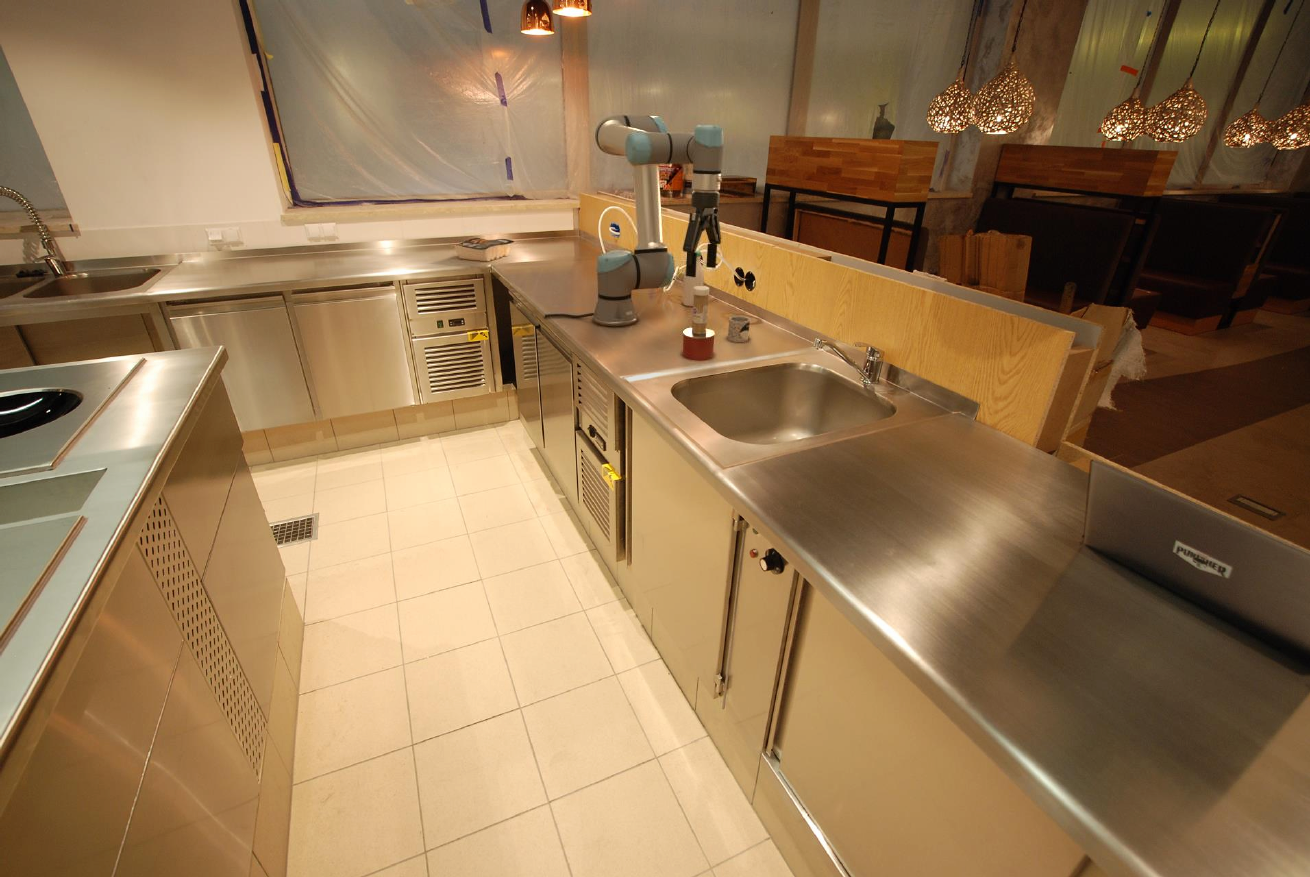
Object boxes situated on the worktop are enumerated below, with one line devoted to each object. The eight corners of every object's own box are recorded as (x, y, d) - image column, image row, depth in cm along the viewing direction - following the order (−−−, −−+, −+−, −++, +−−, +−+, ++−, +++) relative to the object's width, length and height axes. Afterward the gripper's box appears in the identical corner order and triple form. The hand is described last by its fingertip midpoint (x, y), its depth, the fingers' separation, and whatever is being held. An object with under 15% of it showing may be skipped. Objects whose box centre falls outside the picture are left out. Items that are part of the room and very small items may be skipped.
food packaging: (478, 236, 306) (514, 239, 299) (480, 251, 310) (516, 254, 303) (447, 244, 286) (486, 247, 279) (450, 259, 289) (487, 263, 282)
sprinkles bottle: (688, 332, 170) (690, 287, 164) (697, 329, 174) (699, 284, 167) (700, 335, 168) (703, 290, 161) (709, 332, 171) (712, 287, 164)
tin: (677, 356, 172) (677, 334, 169) (690, 347, 180) (691, 325, 176) (705, 362, 168) (706, 339, 165) (718, 352, 176) (719, 330, 172)
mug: (742, 343, 184) (744, 323, 180) (724, 339, 187) (725, 319, 183) (755, 335, 191) (757, 315, 188) (737, 331, 194) (738, 312, 191)
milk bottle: (700, 307, 220) (703, 253, 210) (681, 306, 221) (683, 252, 211) (703, 302, 226) (706, 250, 217) (684, 301, 227) (686, 249, 218)
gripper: (698, 196, 142) (694, 282, 152) (736, 188, 161) (730, 265, 171) (671, 194, 145) (669, 278, 155) (712, 186, 164) (707, 262, 174)
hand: (701, 271), depth 163 cm, fingers open, 13 cm apart
